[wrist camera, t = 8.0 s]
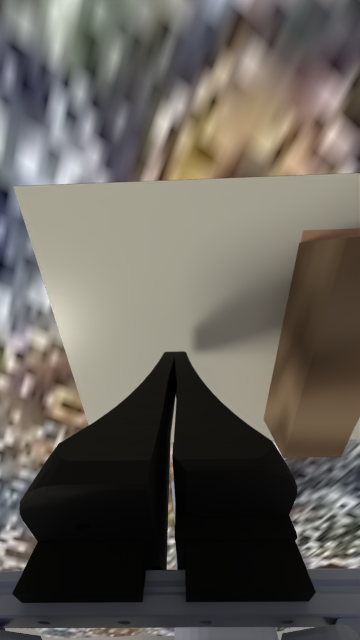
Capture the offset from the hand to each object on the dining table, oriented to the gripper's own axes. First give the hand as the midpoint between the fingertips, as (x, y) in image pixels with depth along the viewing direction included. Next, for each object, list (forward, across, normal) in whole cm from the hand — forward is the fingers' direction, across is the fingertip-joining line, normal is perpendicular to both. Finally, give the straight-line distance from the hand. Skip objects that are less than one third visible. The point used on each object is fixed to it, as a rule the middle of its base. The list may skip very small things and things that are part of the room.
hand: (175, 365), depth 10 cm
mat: (+2, -9, 0) cm, 9 cm away
